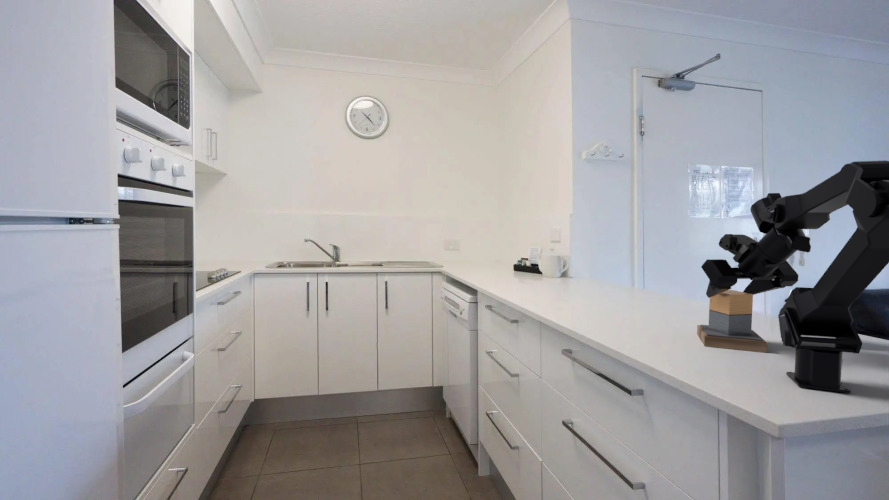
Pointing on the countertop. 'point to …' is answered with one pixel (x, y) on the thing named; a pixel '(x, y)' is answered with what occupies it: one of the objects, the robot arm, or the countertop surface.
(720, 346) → the walnut stand
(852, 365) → the countertop surface
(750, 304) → the tan and grey block
